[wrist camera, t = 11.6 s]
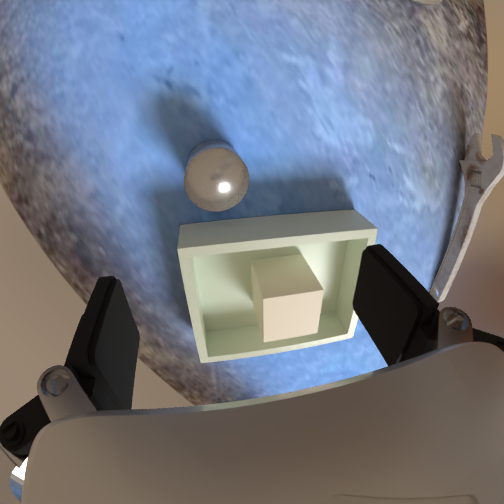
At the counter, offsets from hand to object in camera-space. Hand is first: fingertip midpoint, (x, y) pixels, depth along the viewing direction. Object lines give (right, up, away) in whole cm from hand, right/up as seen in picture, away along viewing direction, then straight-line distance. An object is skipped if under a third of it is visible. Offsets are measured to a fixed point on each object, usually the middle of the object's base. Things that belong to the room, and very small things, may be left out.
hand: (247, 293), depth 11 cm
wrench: (+31, +7, +26) cm, 41 cm away
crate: (+3, -1, +25) cm, 25 cm away
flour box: (+3, -2, +24) cm, 24 cm away
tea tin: (-4, +10, +17) cm, 20 cm away
